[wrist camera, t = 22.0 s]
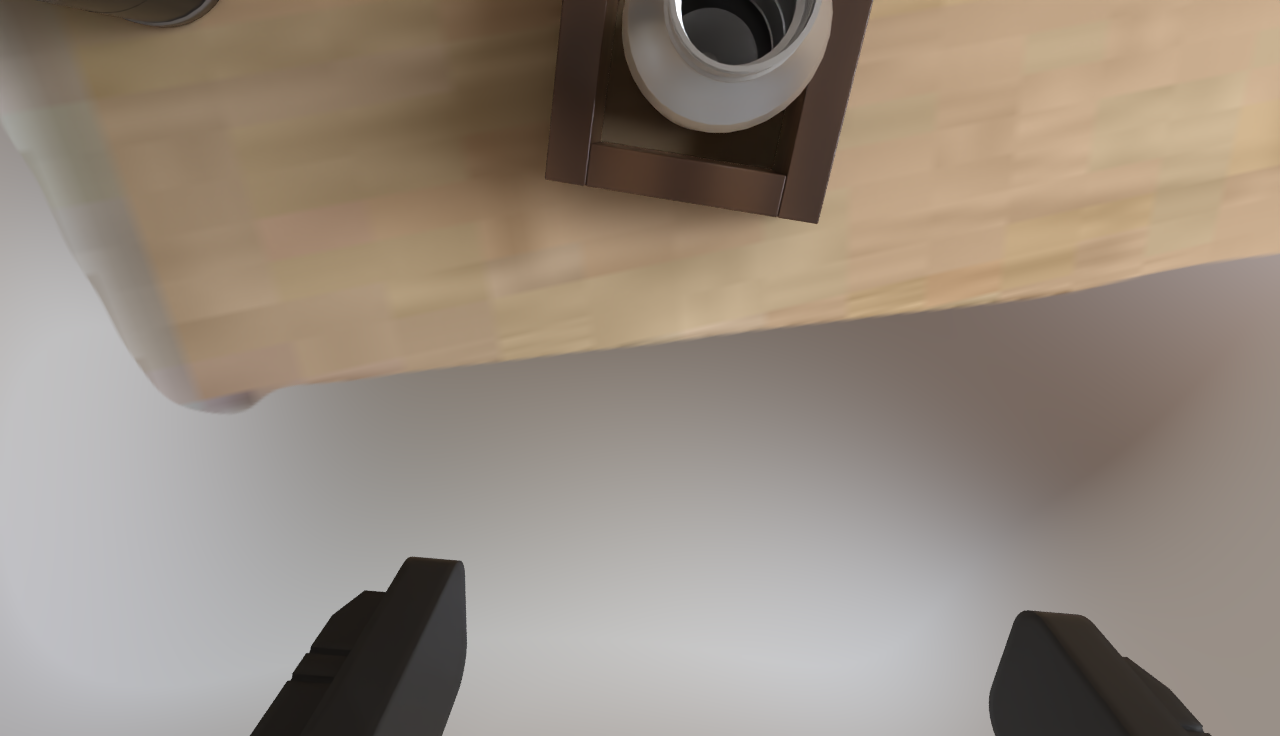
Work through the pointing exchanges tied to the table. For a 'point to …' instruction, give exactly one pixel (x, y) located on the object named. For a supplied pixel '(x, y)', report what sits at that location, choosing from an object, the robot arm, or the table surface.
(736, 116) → the silver metal bottle
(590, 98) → the bottle holder
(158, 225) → the table surface
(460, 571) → the robot arm
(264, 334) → the table surface
